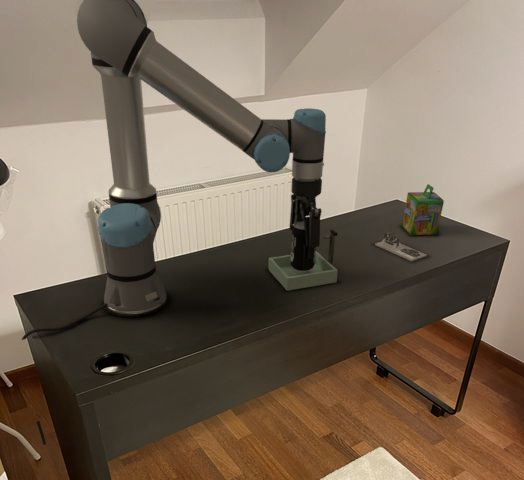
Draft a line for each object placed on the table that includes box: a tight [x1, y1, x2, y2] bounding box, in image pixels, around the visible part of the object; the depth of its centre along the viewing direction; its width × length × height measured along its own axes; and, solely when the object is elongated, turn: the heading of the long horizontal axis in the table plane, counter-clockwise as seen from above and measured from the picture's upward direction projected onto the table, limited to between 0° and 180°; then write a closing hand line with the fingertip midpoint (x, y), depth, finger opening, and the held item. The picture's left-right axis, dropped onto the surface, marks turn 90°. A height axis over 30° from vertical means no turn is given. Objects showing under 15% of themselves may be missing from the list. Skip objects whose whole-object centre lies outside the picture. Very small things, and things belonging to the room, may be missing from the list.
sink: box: [268, 250, 339, 291], centre depth 144 cm, size 15×14×4 cm
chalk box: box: [401, 183, 445, 236], centre depth 170 cm, size 9×9×15 cm
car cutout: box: [374, 230, 428, 262], centre depth 159 cm, size 15×7×4 cm, turn 35°
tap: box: [322, 229, 338, 266], centre depth 144 cm, size 4×3×12 cm
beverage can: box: [290, 221, 317, 271], centre depth 140 cm, size 7×7×12 cm
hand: (302, 262), depth 143 cm, fingers closed on beverage can, 6 cm apart
